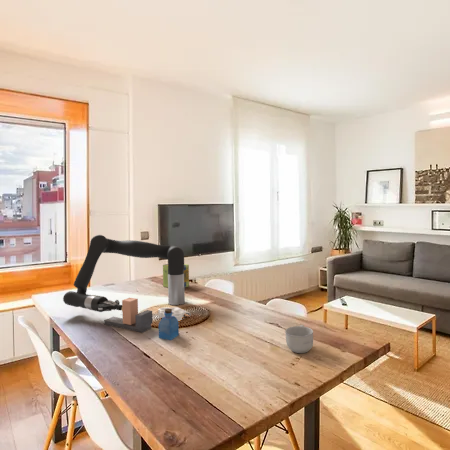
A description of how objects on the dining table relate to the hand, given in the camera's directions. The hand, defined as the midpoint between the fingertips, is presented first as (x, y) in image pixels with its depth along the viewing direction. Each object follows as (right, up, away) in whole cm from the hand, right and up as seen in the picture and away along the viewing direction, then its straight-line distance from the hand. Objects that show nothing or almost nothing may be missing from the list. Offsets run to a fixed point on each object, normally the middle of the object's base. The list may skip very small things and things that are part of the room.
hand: (122, 307), depth 165 cm
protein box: (+15, -4, +76) cm, 78 cm away
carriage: (+5, -6, -2) cm, 8 cm away
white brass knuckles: (+22, -8, +12) cm, 27 cm away
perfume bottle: (+25, -9, -14) cm, 30 cm away
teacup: (+79, -10, -28) cm, 85 cm away
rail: (+3, -9, -1) cm, 9 cm away
